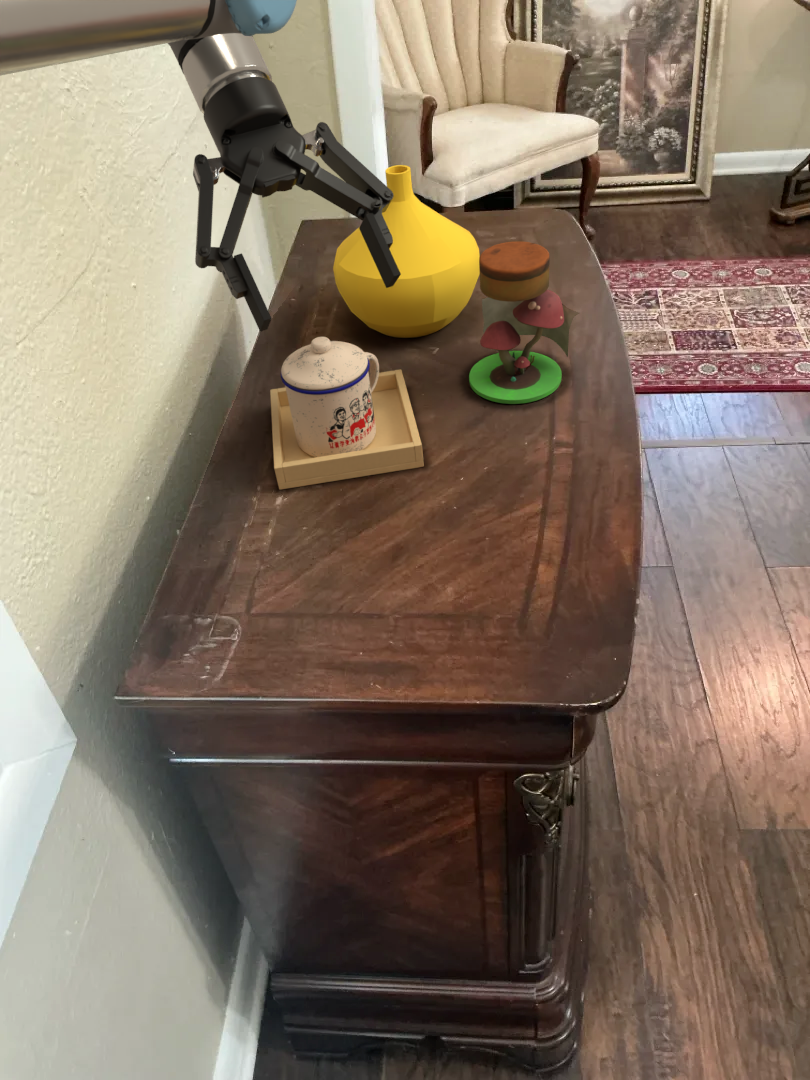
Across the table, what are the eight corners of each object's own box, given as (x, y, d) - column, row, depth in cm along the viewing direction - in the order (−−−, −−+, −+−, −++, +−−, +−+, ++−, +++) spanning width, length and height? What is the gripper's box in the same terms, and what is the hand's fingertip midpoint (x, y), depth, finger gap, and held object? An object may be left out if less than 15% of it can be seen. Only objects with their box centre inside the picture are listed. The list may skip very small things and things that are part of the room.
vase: (328, 355, 108) (302, 202, 95) (357, 287, 121) (338, 145, 108) (474, 356, 105) (468, 198, 92) (488, 286, 118) (484, 139, 105)
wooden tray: (279, 490, 89) (274, 468, 87) (274, 410, 100) (270, 389, 98) (424, 466, 89) (421, 444, 87) (403, 389, 101) (401, 369, 99)
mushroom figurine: (565, 412, 94) (570, 284, 84) (454, 402, 98) (446, 277, 88) (582, 356, 102) (589, 233, 92) (478, 348, 106) (474, 229, 96)
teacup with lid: (339, 472, 89) (321, 374, 81) (277, 444, 93) (255, 348, 85) (412, 415, 95) (403, 319, 87) (351, 392, 100) (337, 299, 92)
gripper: (345, 94, 89) (430, 280, 89) (111, 154, 81) (205, 358, 81) (363, 44, 82) (456, 247, 82) (108, 105, 74) (211, 329, 74)
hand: (331, 303), depth 82 cm, fingers open, 13 cm apart
